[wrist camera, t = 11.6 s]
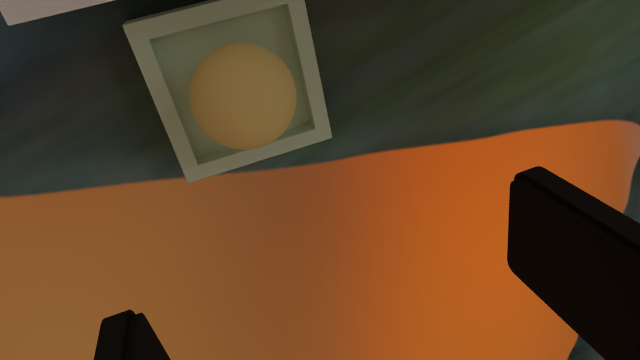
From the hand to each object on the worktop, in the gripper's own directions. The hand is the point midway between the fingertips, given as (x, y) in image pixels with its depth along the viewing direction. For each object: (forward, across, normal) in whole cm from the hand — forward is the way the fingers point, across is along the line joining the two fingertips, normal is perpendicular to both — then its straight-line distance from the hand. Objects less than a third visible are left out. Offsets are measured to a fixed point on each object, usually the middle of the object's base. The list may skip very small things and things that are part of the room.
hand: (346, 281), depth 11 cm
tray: (+20, 0, 0) cm, 20 cm away
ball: (+17, 0, 0) cm, 17 cm away
